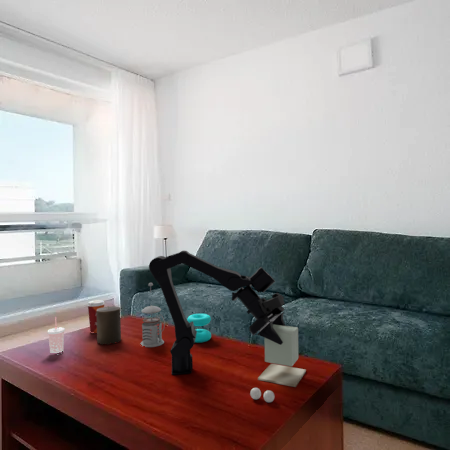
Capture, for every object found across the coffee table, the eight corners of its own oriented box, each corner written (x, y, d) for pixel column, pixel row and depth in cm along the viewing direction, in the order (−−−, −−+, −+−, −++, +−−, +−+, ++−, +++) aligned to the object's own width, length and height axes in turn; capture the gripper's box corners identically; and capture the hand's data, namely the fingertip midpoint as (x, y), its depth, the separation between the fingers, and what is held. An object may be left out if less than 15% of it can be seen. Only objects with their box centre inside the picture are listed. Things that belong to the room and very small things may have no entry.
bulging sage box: (264, 361, 113) (264, 330, 113) (272, 353, 119) (272, 324, 119) (291, 366, 109) (291, 334, 109) (298, 358, 115) (298, 327, 115)
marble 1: (251, 402, 98) (251, 391, 98) (249, 396, 101) (249, 386, 101) (262, 400, 99) (262, 390, 99) (259, 395, 102) (259, 385, 102)
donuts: (210, 319, 145) (185, 319, 146) (210, 343, 146) (186, 343, 146) (211, 312, 155) (188, 312, 156) (212, 335, 156) (189, 335, 156)
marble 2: (265, 405, 97) (264, 394, 97) (262, 399, 100) (262, 388, 100) (275, 403, 97) (275, 393, 97) (272, 398, 100) (272, 387, 100)
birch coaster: (258, 379, 112) (257, 377, 112) (271, 365, 122) (271, 363, 122) (295, 387, 106) (295, 385, 106) (305, 371, 117) (305, 369, 117)
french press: (152, 337, 155) (151, 279, 154) (172, 342, 148) (170, 282, 147) (135, 344, 147) (133, 283, 146) (154, 349, 140) (152, 286, 139)
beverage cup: (60, 355, 136) (59, 318, 136) (44, 355, 136) (43, 319, 136) (68, 349, 142) (67, 314, 142) (53, 349, 142) (51, 314, 142)
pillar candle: (116, 344, 147) (116, 308, 147) (93, 345, 147) (92, 308, 147) (123, 337, 156) (123, 302, 156) (101, 337, 156) (101, 303, 156)
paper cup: (100, 334, 160) (99, 303, 160) (84, 334, 161) (83, 303, 161) (109, 329, 168) (108, 299, 167) (94, 328, 169) (93, 299, 169)
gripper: (258, 291, 107) (294, 333, 103) (278, 281, 124) (310, 316, 119) (234, 315, 111) (269, 356, 106) (257, 302, 128) (287, 337, 123)
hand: (285, 340), depth 114 cm, fingers closed on bulging sage box, 7 cm apart
